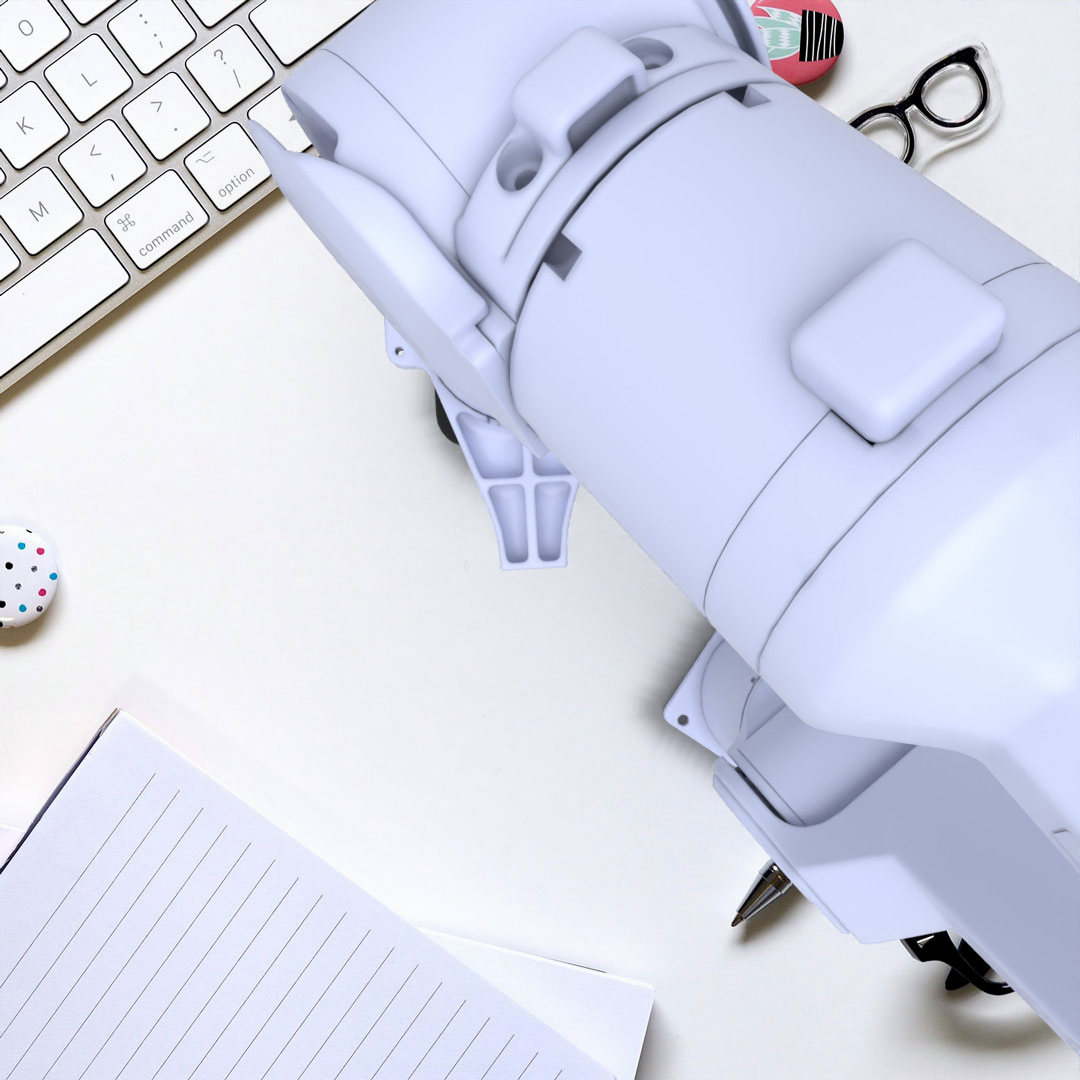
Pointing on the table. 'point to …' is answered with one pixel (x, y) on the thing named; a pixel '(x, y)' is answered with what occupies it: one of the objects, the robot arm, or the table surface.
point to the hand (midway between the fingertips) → (519, 371)
